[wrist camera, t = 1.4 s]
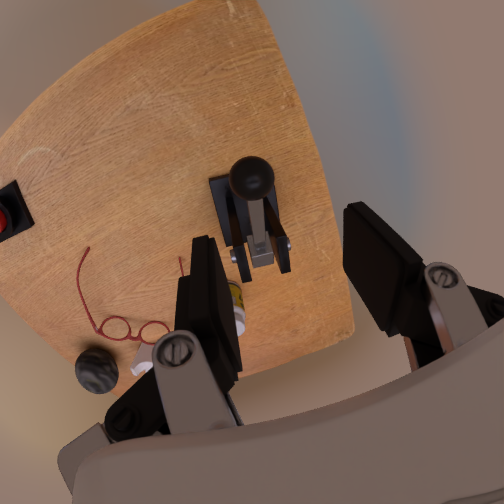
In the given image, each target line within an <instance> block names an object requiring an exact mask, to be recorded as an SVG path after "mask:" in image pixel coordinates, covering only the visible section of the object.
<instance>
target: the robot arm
mask: <svg viewBox="0 0 504 504" xmlns="http://www.w3.org/2000/svg"><path fill="white" fill-rule="evenodd" d="M343 216H344V217H343V218H344V219H343V222H344V224H343V268H344V271H345V273H346V275H347V276H348V278H349V279H350V281H351V282H352V284H353V285H354V287H355V289H356V290H357V292H358V294H359V295H360V297H361V298H362V300H363V302H364V303H365V305H366V307H367V308H368V310H369V312H370V313H371V315H372V317H373V318H374V320H375V322H376V323H377V325H378V327H379V329H380V330H381V331H385V332H386V334H387V335H388V337H392V336H394V335H397V334H399V333H400V334H401V335H402V336H404V342H405V346H406V350H407V354H408V358H409V362H410V367H411V371H412V373H409V374H408V375H405V376H403V377H401V378H399V379H396V380H395V381H392V382H390V383H387V384H385V385H383V386H380V387H378V388H375V389H373V390H370V391H368V392H365V393H362V394H360V395H357V396H354V397H351V398H348V399H346V400H343V401H340V402H337V403H334V404H331V405H327V406H324V407H321V408H317V409H314V410H310V411H307V412H303V413H300V414H296V415H291V416H287V417H283V418H279V419H275V420H270V421H265V422H260V423H255V424H249V425H244V423H243V421H242V419H241V417H240V415H239V413H238V411H237V409H236V407H235V405H234V403H233V401H232V399H231V397H230V394H229V390H230V389H231V388H232V387H233V385H235V384H234V381H238V374H237V372H241V371H243V370H242V362H241V356H240V349H239V342H238V335H237V328H236V321H235V313H234V306H233V299H232V294H231V290H230V287H229V284H228V281H227V278H226V274H225V271H224V268H223V265H222V261H221V258H220V255H219V251H218V248H217V245H216V241H215V238H214V237H213V238H209V237H208V235H204V236H200V237H196V238H193V240H192V254H191V269H190V275H187V276H183V277H180V278H179V281H178V290H177V301H176V312H175V325H174V331H172V332H169V333H167V334H165V335H163V336H162V337H161V338H160V339H159V340H158V341H157V342H156V344H155V345H154V347H153V350H152V363H153V367H152V368H151V369H149V370H148V371H147V372H146V373H145V374H144V375H143V376H142V377H141V378H140V379H139V380H138V381H137V382H136V383H135V384H134V385H133V386H132V387H131V388H130V389H128V390H127V391H126V392H125V393H124V394H123V395H122V396H121V397H120V398H119V399H118V400H117V401H116V402H115V403H114V404H113V405H112V406H111V407H110V408H109V409H108V411H107V413H106V416H105V421H104V423H103V424H100V423H99V422H98V423H96V424H95V425H94V426H92V427H91V428H90V429H88V430H87V431H86V432H84V433H83V434H82V435H80V436H79V437H77V438H76V439H75V440H73V441H72V442H70V443H69V444H67V445H66V446H64V447H63V448H62V449H61V450H60V452H59V455H58V467H59V470H60V472H61V474H62V476H63V478H64V481H65V482H66V485H67V487H68V489H69V490H70V493H71V494H72V496H73V497H72V504H504V298H503V297H502V296H500V295H498V294H495V293H491V292H488V291H484V290H481V289H478V288H475V287H471V286H468V285H466V283H465V281H464V280H463V278H462V276H461V275H460V273H459V272H458V271H457V270H456V269H455V268H454V267H453V266H451V265H449V264H446V263H442V262H434V263H430V264H429V265H427V266H425V264H424V263H423V262H422V261H423V259H422V258H421V257H420V256H419V255H418V254H417V253H416V252H415V250H414V249H413V248H411V246H410V245H409V244H408V243H407V242H406V241H405V240H404V239H402V237H400V236H399V235H398V234H397V233H396V232H395V231H394V230H393V229H392V228H391V227H390V226H389V225H388V224H387V223H386V222H385V221H384V220H383V219H382V218H380V217H379V216H378V215H377V214H376V213H375V212H374V211H373V210H372V209H370V208H369V207H368V206H367V205H366V204H365V203H364V202H362V201H360V202H356V203H351V204H348V205H347V208H345V209H344V212H343Z"/></svg>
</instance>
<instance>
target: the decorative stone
mask: <svg viewBox="0 0 504 504" xmlns="http://www.w3.org/2000/svg"><path fill="white" fill-rule="evenodd" d="M75 372H76V377H77V379H78V381H79V383H80V384H81V385H82V386H83V387H84V388H85V389H86V390H88V391H90V392H92V393H95V394H104V393H107V392H109V391H111V390H112V389H113V388H114V387H115V386H116V384H117V381H118V377H119V372H118V367H117V365H116V362H115V361H114V359H113V358H112V357H111V356H110V355H109V354H108V353H106V352H104V351H102V350H99V349H89V350H86V351H84V352H82V353H81V354H80V356H79V357H78V358H77V360H76V364H75Z"/></svg>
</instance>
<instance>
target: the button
mask: <svg viewBox="0 0 504 504" xmlns="http://www.w3.org/2000/svg"><path fill="white" fill-rule="evenodd" d="M6 225H7V220H6V217H5V215H4V213H3V212H2V211H1V210H0V233H1V232H2V231H3V230H4V229H5V228H6Z"/></svg>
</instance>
